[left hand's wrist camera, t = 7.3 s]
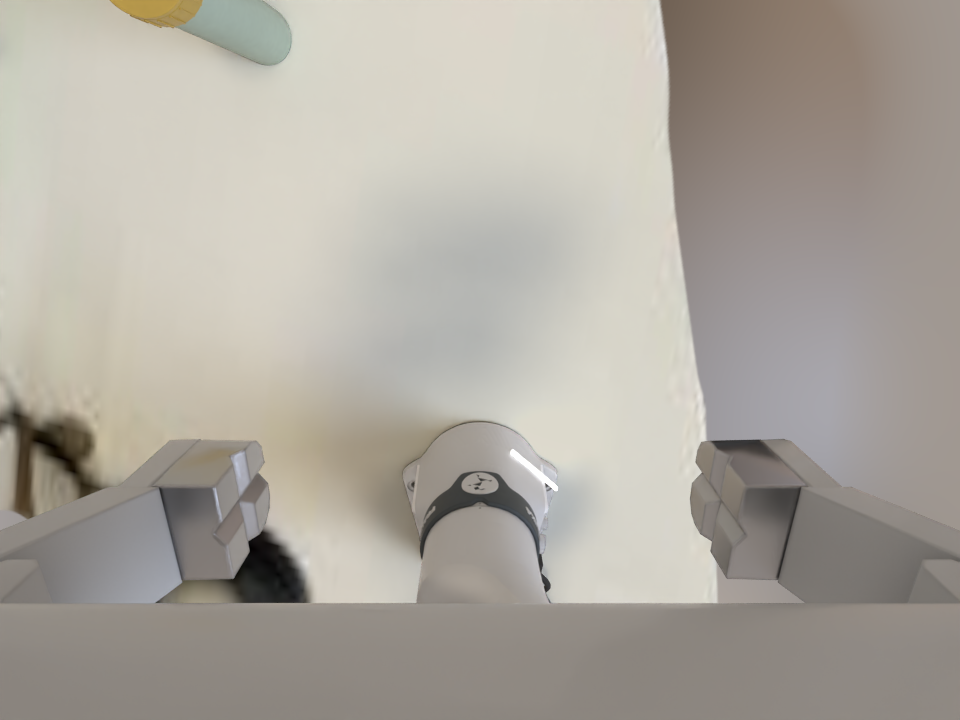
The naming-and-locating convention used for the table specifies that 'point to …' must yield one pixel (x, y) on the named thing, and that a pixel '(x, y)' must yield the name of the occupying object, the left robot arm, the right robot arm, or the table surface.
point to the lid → (160, 11)
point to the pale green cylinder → (243, 29)
